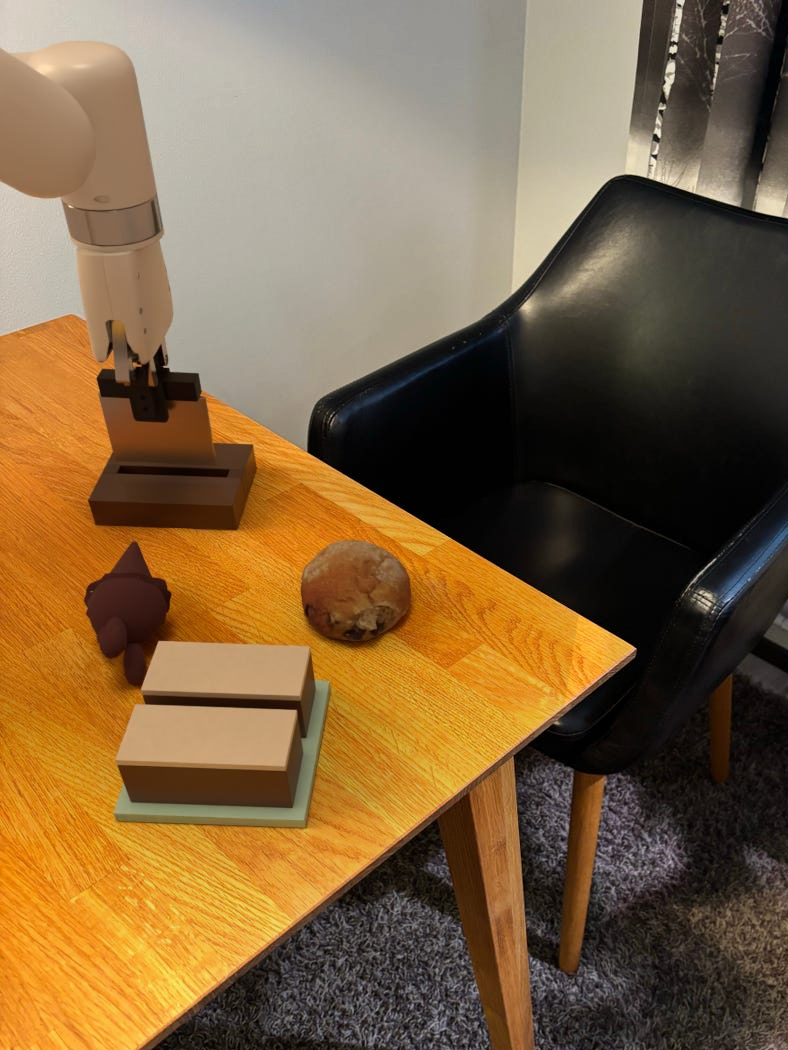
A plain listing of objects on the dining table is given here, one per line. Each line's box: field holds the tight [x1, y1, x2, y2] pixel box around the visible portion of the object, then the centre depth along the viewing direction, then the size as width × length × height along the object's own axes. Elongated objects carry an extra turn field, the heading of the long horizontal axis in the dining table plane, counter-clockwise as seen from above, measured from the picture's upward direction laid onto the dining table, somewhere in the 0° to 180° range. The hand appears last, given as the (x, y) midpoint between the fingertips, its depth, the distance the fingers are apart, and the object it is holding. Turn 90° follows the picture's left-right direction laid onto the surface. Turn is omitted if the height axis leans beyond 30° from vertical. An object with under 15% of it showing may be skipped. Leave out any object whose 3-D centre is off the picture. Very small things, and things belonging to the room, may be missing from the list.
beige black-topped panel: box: [95, 368, 217, 466], centre depth 96 cm, size 10×2×10 cm, turn 88°
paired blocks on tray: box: [112, 640, 332, 829], centre depth 77 cm, size 14×14×6 cm
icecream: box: [83, 540, 173, 686], centre depth 86 cm, size 7×7×15 cm
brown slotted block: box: [87, 442, 258, 531], centre depth 101 cm, size 14×11×3 cm
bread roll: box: [300, 539, 412, 642], centre depth 90 cm, size 10×10×8 cm
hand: (155, 412), depth 95 cm, fingers closed on beige black-topped panel, 1 cm apart
